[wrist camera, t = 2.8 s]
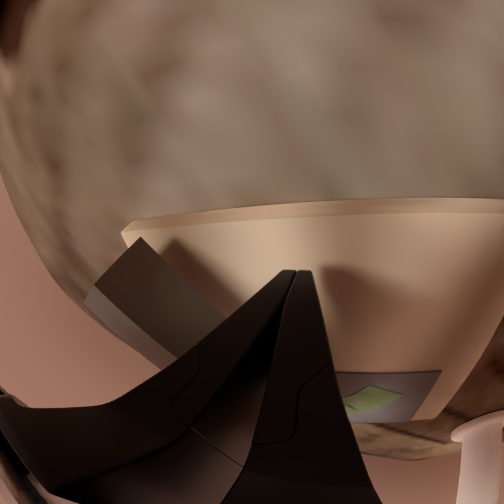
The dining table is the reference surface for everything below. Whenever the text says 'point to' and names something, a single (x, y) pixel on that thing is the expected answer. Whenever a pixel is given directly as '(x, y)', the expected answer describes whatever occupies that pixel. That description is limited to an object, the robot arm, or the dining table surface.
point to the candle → (480, 458)
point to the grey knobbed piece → (152, 305)
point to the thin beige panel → (361, 285)
